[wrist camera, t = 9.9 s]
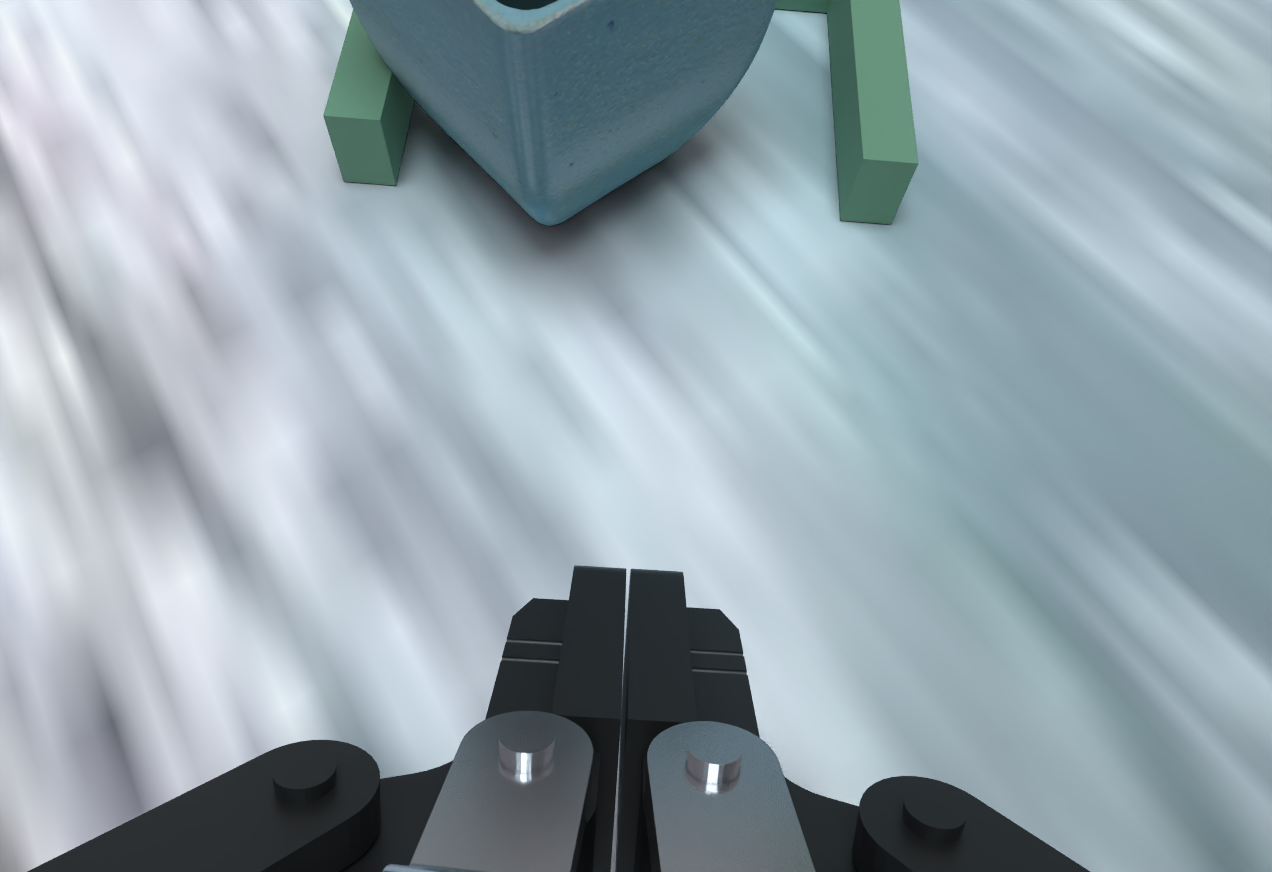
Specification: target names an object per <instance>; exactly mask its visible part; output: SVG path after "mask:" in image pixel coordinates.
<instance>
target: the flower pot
mask: <svg viewBox="0 0 1272 872" xmlns="http://www.w3.org/2000/svg"><path fill="white" fill-rule="evenodd" d="M777 1H778V0H350V2H351V4H352V7H353V9H354V11H355V13H356V15H357V17H358V19H359V21H360V23H361V25H362V26H363V28H364V30H365V32H366V33H367V35H368V37H369V38H370V40H371V42H372V44H373V45H374V47H375V48H376V50H377V51H378V53H379V54H380V56H381V57H382V59H383V60H384V62H385V63H386V65H387V66H388V67H389V69H390V70H391V71H392V73H393V74H394V75H395V77H396V78H397V79H398V80H399V82H400V83H401V84H402V86H403V87H404V88H405V89H406V90H407V91H408V93H409V94H410V95H411V96H412V97H413V98H414V100H415V101H416V102H417V103H418V104H419V105H420V106H421V107H422V108H423V109H424V110H425V112H426V113H427V114H428V115H429V116H430V117H431V118H432V119H433V120H434V121H435V122H436V123H437V124H438V125H439V126H440V127H441V128H442V129H443V130H444V131H445V132H446V133H447V134H448V135H449V136H450V137H451V138H452V139H453V140H454V141H455V142H456V143H457V144H458V145H459V146H460V147H461V148H462V149H463V150H464V151H465V152H466V153H467V154H468V155H469V156H470V157H471V158H473V159H474V160H475V161H476V162H477V163H478V164H479V165H480V166H481V167H482V168H483V169H484V170H485V171H486V172H487V173H488V174H489V175H490V176H491V177H492V178H493V179H494V180H495V181H496V182H497V183H498V184H499V185H500V186H501V187H502V188H503V189H504V190H505V191H506V192H507V193H508V194H509V195H510V196H511V197H512V198H513V199H514V200H515V201H516V202H517V203H518V204H519V205H520V206H521V207H522V208H523V209H524V210H525V211H526V212H527V213H528V214H529V215H530V216H531V217H532V218H533V219H534V220H536V221H537V222H538V223H541V224H543V225H547V226H552V225H556V224H559V223H562V222H564V221H565V220H567V219H569V218H570V217H572V216H573V215H575V214H576V213H578V212H580V211H581V210H583V209H584V208H586V207H587V206H589V205H591V204H592V203H594V202H595V201H597V200H598V199H600V198H602V197H603V196H605V195H606V194H608V193H610V192H611V191H613V190H614V189H616V188H618V187H619V186H621V185H622V184H624V183H626V182H627V181H629V180H631V179H632V178H634V177H636V176H637V175H639V174H641V173H642V172H644V171H645V170H647V169H649V168H650V167H652V166H654V165H655V164H657V163H659V162H661V161H662V160H664V159H665V158H667V157H668V156H670V155H671V154H673V153H674V152H675V151H677V150H678V149H679V148H680V147H681V146H682V145H683V144H684V143H686V142H687V141H688V140H689V139H690V138H691V137H692V136H693V135H694V134H695V133H696V132H698V131H699V130H700V129H701V128H702V127H703V126H704V125H705V124H706V123H707V122H708V121H709V120H710V119H711V118H712V116H713V115H714V114H715V113H716V112H717V111H718V110H719V109H720V107H721V106H722V105H723V104H724V103H725V101H726V100H727V99H728V98H729V96H730V95H731V94H732V92H733V91H734V89H735V88H736V87H737V85H738V84H739V82H740V81H741V79H742V78H743V76H744V75H745V73H746V71H747V70H748V68H749V66H750V65H751V63H752V61H753V59H754V57H755V55H756V53H757V51H758V50H759V47H760V45H761V43H762V40H763V38H764V36H765V33H766V31H767V28H768V25H769V23H770V20H771V18H772V15H773V12H774V10H775V7H776V4H777Z"/></svg>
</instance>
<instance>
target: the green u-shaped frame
mask: <svg viewBox="0 0 1272 872" xmlns="http://www.w3.org/2000/svg"><path fill="white" fill-rule="evenodd" d="M775 9H786V10H798V11H810V12H822V13H827V19H828V34H829V50H830V66H831V81H832V97H833V113H834V128H835V144H836V159H837V175H838V191H839V206H840V220H842V221H855V222H867V223H880V224H891V223H892V221H893V219H894V216H895V214H896V212H897V210H898V208H899V205H900V203H901V201H902V199H903V196H904V194H905V192H906V190H907V188H908V185H909V183H910V181H911V179H912V176H913V174H914V172H915V170H916V168H917V165H918V156H917V148H916V139H915V131H914V122H913V114H912V105H911V97H910V88H909V80H908V71H907V63H906V54H905V46H904V37H903V28H902V20H901V11H900V3H899V0H778V1H777V4H776V7H775ZM414 101H415V100H414V98H413V97H412V96H411V95H410V94H409V93H408V91H407V90H406V89H405V88H404V87H403V86H402V84H401V83H400V82H399V80H398V79H397V78H396V77H395V75H394V74H393V73H392V71H391V70H390V69H389V67H388V66H387V65H386V63H385V62H384V60H383V59H382V57H381V56H380V54H379V53H378V51H377V50H376V48H375V47H374V45H373V44H372V42H371V40H370V38H369V37H368V35H367V33H366V32H365V30H364V28H363V26H362V25H361V23H360V21H359V19H358V17H357V15H356V13H355V11H354V9H353V12H352V16H351V19H350V23H349V26H348V30H347V34H346V37H345V41H344V44H343V48H342V51H341V55H340V58H339V62H338V66H337V69H336V73H335V76H334V80H333V83H332V87H331V91H330V94H329V98H328V101H327V105H326V108H325V112H324V119H325V122H326V125H327V129H328V132H329V135H330V138H331V142H332V145H333V148H334V151H335V155H336V158H337V161H338V164H339V168H340V171H341V174H342V177H343V180H344V181H345V182H358V183H370V184H383V185H396V182H397V178H398V173H399V169H400V164H401V160H402V155H403V151H404V146H405V142H406V137H407V133H408V128H409V124H410V119H411V115H412V110H413V106H414Z"/></svg>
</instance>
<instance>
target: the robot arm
mask: <svg viewBox="0 0 1272 872" xmlns="http://www.w3.org/2000/svg"><path fill="white" fill-rule="evenodd" d="M625 593H626V569H624V568H608V567H592V566H574V571H573V577H572V584H571V590H570V597H569V600H554V599H537V598H533V599H532V600H531V601H530V602H528V603H527V604H526V605H525V606H524V607H523V608H522V609H520V610H519V611H518V612H517V613H516V614H515V615H514V616H513V618H512V621H511V625H510V629H509V633H508V636H507V642H506V644H505V648H504V651H503V655H502V661H501V663H500V666H499V670H498V674H497V678H496V681H495V685H494V689H493V693H492V696H491V700H490V704H489V708H488V712H487V715H486V719H485V720H484V721H482V722H480V723H479V724H477V725H476V726H475V727H473V728H472V729H471V730H470V731H469V732H468V733H467V734H466V735H465V736H464V738H463V740H462V742H461V744H460V746H459V748H458V751H457V753H456V756H455V758H454V760H453V761H451V762H449V763H447V764H445V765H442V766H440V767H437V768H434V769H431V770H428V771H423V772H419V773H414V774H408V775H402V776H396V777H390V778H383V779H380V771H379V768H378V765H377V763H376V762H375V760H374V759H373V757H372V756H370V755H369V754H368V753H367V752H366V751H364V750H362V749H361V748H359V747H357V746H354V745H351V744H349V743H345V742H340V741H333V740H310V741H301V742H297V743H292V744H288V745H285V746H282V747H278V748H276V749H273V750H271V751H269V752H267V753H264V754H262V755H260V756H258V757H256V758H254V759H252V760H250V761H248V762H246V763H244V764H242V765H240V766H238V767H236V768H234V769H232V770H230V771H228V772H226V773H224V774H222V775H220V776H218V777H216V778H214V779H212V780H210V781H208V782H206V783H204V784H202V785H200V786H198V787H196V788H194V789H192V790H190V791H188V792H186V793H184V794H182V795H180V796H178V797H176V798H174V799H172V800H170V801H168V802H166V803H164V804H162V805H160V806H158V807H156V808H154V809H152V810H150V811H148V812H146V813H144V814H142V815H140V816H138V817H136V818H134V819H132V820H130V821H128V822H126V823H124V824H122V825H120V826H118V827H116V828H114V829H112V830H110V831H108V832H106V833H104V834H102V835H100V836H98V837H96V838H94V839H92V840H90V841H88V842H86V843H84V844H82V845H80V846H78V847H76V848H74V849H72V850H70V851H68V852H66V853H64V854H62V855H60V856H58V857H56V858H54V859H52V860H50V861H48V862H46V863H44V864H42V865H40V866H38V867H36V868H34V869H32V870H30V871H28V872H610V869H611V854H612V840H613V826H614V811H615V797H616V783H617V768H618V754H619V740H620V758H619V786H618V814H617V842H616V870H615V872H1090V871H1088V870H1087V869H1085V868H1084V867H1082V866H1081V865H1079V864H1077V863H1076V862H1074V861H1073V860H1071V859H1070V858H1068V857H1067V856H1065V855H1063V854H1062V853H1060V852H1059V851H1057V850H1056V849H1054V848H1053V847H1051V846H1049V845H1048V844H1046V843H1045V842H1043V841H1042V840H1040V839H1039V838H1037V837H1036V836H1034V835H1032V834H1031V833H1029V832H1028V831H1026V830H1025V829H1023V828H1022V827H1020V826H1018V825H1017V824H1015V823H1014V822H1012V821H1011V820H1009V819H1008V818H1006V817H1005V816H1003V815H1001V814H1000V813H998V812H997V811H995V810H994V809H992V808H991V807H989V806H987V805H986V804H984V803H983V802H981V801H980V800H978V799H977V798H975V797H974V796H972V795H970V794H968V793H967V792H965V791H963V790H961V789H959V788H957V787H954V786H952V785H950V784H947V783H944V782H941V781H938V780H933V779H929V778H924V777H916V776H899V777H891V778H887V779H883V780H881V781H879V782H876V783H874V784H873V785H872V786H870V787H869V788H868V789H867V790H866V791H865V792H864V794H863V796H862V798H861V800H860V805H859V806H855V805H852V804H848V803H845V802H841V801H838V800H834V799H831V798H827V797H824V796H821V795H818V794H815V793H812V792H810V791H808V790H806V789H803V788H801V787H800V786H798V785H796V784H794V783H793V782H791V781H789V780H788V779H787V778H785V777H784V775H783V772H782V769H781V766H780V763H779V761H778V758H777V756H776V754H775V753H774V752H773V750H772V749H771V747H769V746H768V745H767V744H766V743H765V742H764V741H763V740H762V739H760V737H759V732H758V727H757V721H756V716H755V711H754V706H753V701H752V696H751V690H750V685H749V680H748V675H746V673H747V670H746V665H745V659H744V657H743V649H742V644H741V639H740V634H739V629H738V628H737V627H736V626H735V625H734V624H733V623H732V622H731V621H730V620H729V619H728V618H727V617H726V616H725V615H724V614H723V612H722V611H721V610H720V609H704V608H688V607H686V598H685V587H684V576H683V572H675V571H659V570H643V569H631V573H630V585H629V599H628V614H627V628H626V643H625V657H624V671H623V648H624V620H625ZM622 676H623V687H622ZM621 704H622V706H621ZM620 725H621V730H620Z"/></svg>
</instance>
